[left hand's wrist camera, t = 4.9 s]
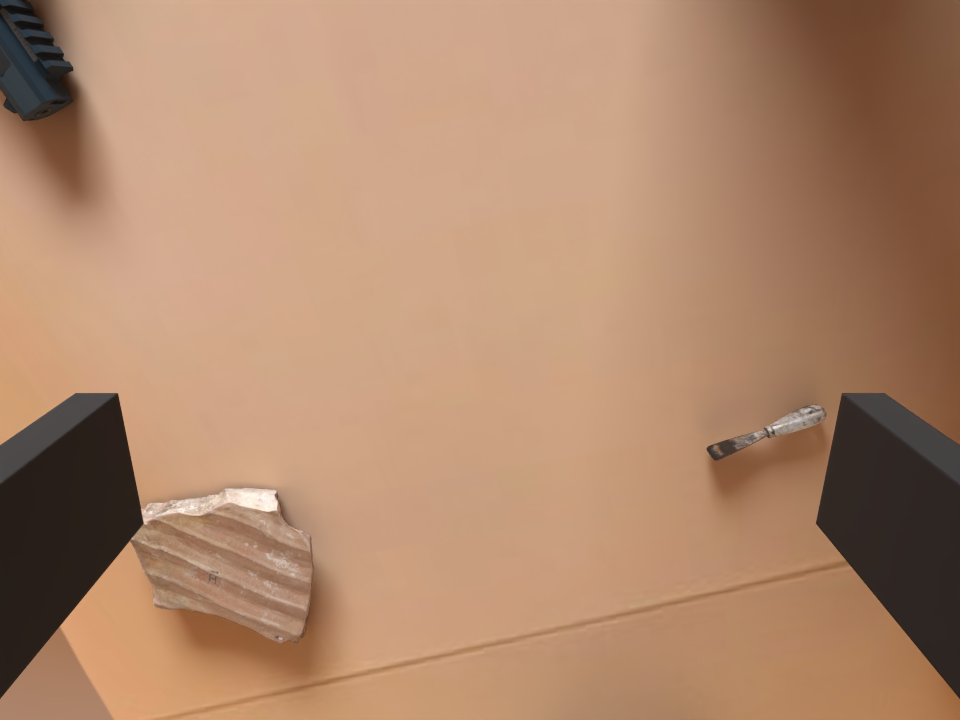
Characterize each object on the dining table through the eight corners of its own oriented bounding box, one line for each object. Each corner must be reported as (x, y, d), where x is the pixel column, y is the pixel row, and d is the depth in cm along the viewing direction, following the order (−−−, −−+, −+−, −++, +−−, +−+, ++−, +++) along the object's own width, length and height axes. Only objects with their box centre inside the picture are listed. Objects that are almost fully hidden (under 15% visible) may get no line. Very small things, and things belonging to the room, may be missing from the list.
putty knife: (821, 412, 46) (833, 422, 44) (708, 456, 47) (716, 467, 45) (817, 399, 45) (829, 409, 44) (703, 444, 46) (711, 455, 45)
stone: (327, 498, 48) (318, 518, 46) (310, 630, 52) (301, 655, 50) (143, 467, 47) (125, 486, 45) (141, 603, 51) (124, 627, 49)
